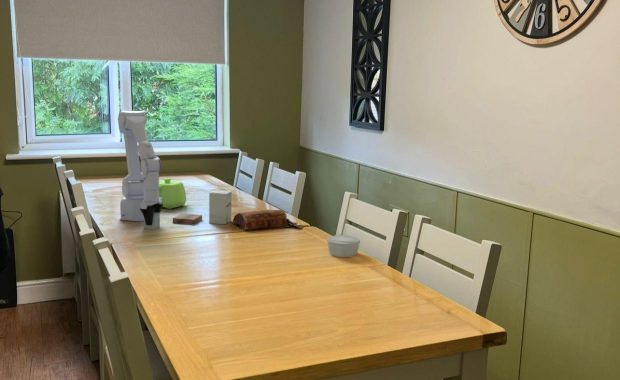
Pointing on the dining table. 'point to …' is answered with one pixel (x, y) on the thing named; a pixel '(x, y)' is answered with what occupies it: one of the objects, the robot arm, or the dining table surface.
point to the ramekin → (343, 245)
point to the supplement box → (220, 207)
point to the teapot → (172, 193)
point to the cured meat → (262, 219)
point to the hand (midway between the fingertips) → (151, 223)
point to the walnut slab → (187, 219)
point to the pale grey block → (154, 222)
